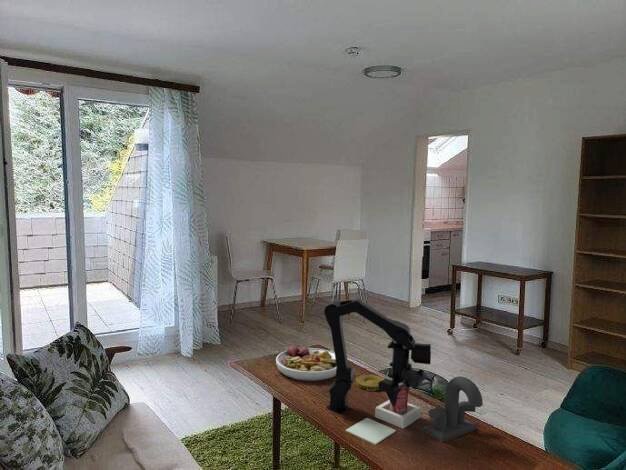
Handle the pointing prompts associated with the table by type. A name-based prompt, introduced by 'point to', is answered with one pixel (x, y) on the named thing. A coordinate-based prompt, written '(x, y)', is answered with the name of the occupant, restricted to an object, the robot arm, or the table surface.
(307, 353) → the bowl
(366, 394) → the table surface
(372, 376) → the gold flat disc
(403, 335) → the robot arm
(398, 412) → the beverage can
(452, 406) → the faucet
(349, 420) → the table surface
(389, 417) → the collar
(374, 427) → the mat
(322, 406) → the table surface
